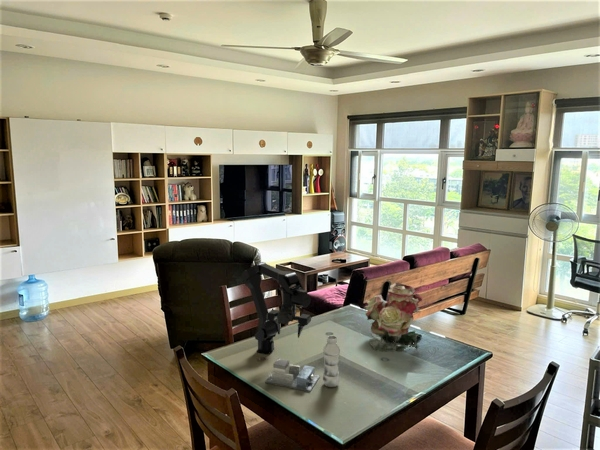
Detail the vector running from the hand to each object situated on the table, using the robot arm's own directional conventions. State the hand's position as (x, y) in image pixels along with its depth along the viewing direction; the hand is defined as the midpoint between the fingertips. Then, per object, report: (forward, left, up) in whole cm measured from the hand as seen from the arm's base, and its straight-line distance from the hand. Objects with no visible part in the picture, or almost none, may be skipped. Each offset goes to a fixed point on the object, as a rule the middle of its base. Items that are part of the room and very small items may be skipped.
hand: (288, 335), depth 191 cm
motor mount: (+7, -14, -12) cm, 20 cm away
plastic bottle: (+23, -12, -12) cm, 29 cm away
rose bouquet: (+40, +37, -12) cm, 55 cm away
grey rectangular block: (+2, -14, -11) cm, 18 cm away
